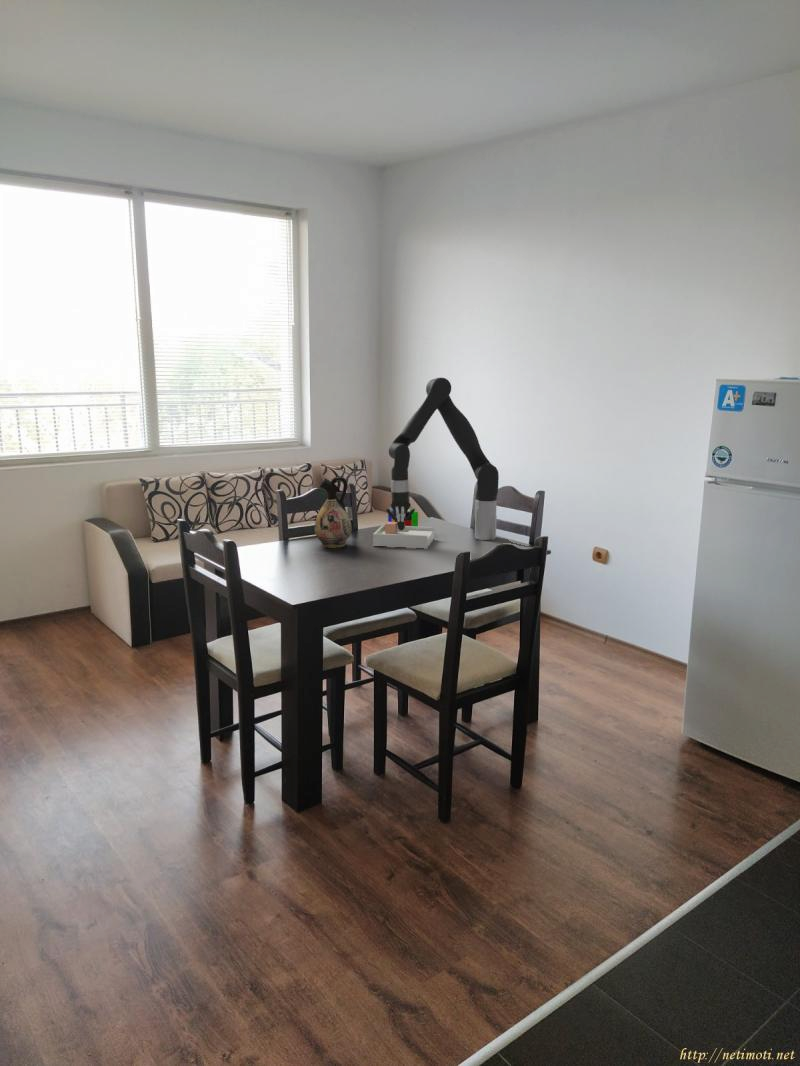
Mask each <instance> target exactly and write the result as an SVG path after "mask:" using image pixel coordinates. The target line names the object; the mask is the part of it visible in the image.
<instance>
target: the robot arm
mask: <svg viewBox="0 0 800 1066" xmlns="http://www.w3.org/2000/svg"><path fill="white" fill-rule="evenodd" d="M425 392H426V398H425V399H424V400H423V403H422V404H421V405H420V406H419V408H418V409H417V410H416V411H415V412H414V413H413V415H412V416H411V417H410V418H409V420H408V421H407V423H406V424H405V426H404V427H403V429H402V431H401V432H400V434H398V435H397V437H395V439H394V440H393V441H392V442H391V444H390V446H389V448H388V455H389V456H390V458H391V459H393V460H394V463H393V464H394V465H393V466H392V467H391V474H390V475H391V482H390V486H391V487H390V490H391V491H390V492H391V503H390V506H389V507H388V508H386V510H385V511H386V513H387V515H388V514H389V515H390V516H391V517H392V519H393V520H396V521H397V522H398V529H399V530H403V529H404V528H405V521H407V520H408V519H409V518H410V517H411V515H412V514H413V513H414V511H416V508H415V507H414V508H413V506H412V505H411V503H410V502H411V501H410V483H409V465H410V458H411V452H410V448H409V446H410V445H411V444H413V443H415V442H416V441H417V440H418V438H419V436H420V435H421V433H422V432H423V430H424V429H425V427H426V425H427V424H428V422H429V420H430V419H431V418H432V416H433V415H434V413H435V412H436V410H437V411H438V412H439V414H440V416H441V418H442V420H443V421H444V424H445V426H446V427H447V428H448V431H449V433H450V435H451V436H452V438H453V439H454V442H455V443H456V445H457V446H458V448H459V449H460V451H461V452H462V454H464V456H465V457H466V459H467V461H468V462H469V465H470V467H471V469H472V472H473V474H474V477H475V479H476V480H477V481H476V482H477V483H476V493H475V501H474V502H475V505H474V507H475V509H474V538H475V539H477V540H481V541H494V540H496V539H497V500H498V499H497V498H498V494H499V470H498V468H497V467H496V466H495V465H494V464H492V463H491V462H490V460H489V459H488V458H487V456H486V455H485V453H484V452H483V450H482V448H481V445H480V443H479V442H480V441H479V438H478V437H477V434H476V431H475V430H474V428H473V426H472V424H471V422H470V421H469V420H468V418H467V417H466V416H465V414H463V412H461V411H460V409H459V408H458V407H457V406H456V405H455V403H454V402H453V400H452V398H451V396H450V394H451V392H452V384H451V382H450V381H449V379H447V378H445V377H435V378H433V379H431V380H429V381H428V382H427V384H426V388H425ZM408 509H410V510H409V512H410V513H409V514H408V516H407V517H405V513H406V512H407V511H408ZM393 510H394V512H395V513H396V516H397V517H396V516H395V514H394V513H393V512H392V511H393Z"/></svg>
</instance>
